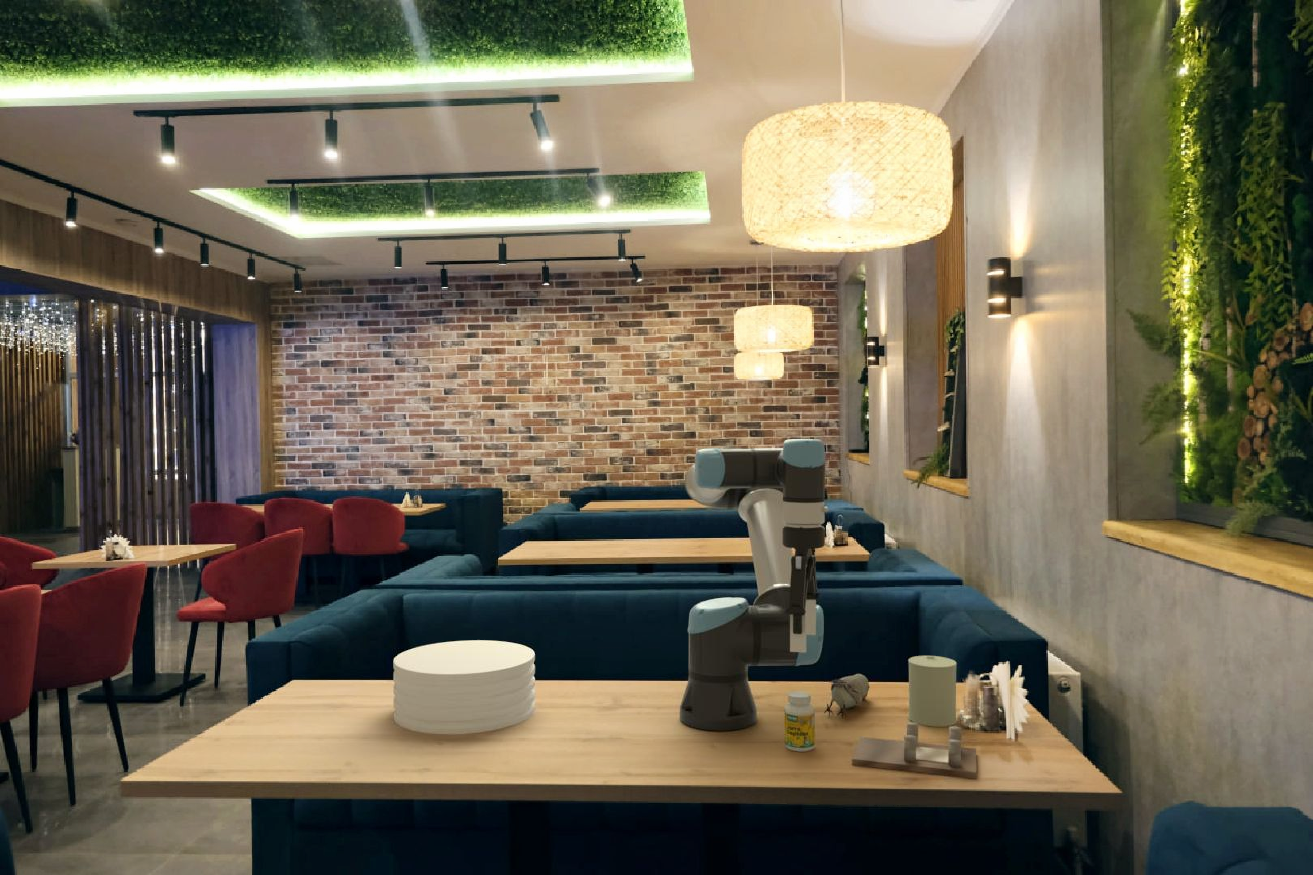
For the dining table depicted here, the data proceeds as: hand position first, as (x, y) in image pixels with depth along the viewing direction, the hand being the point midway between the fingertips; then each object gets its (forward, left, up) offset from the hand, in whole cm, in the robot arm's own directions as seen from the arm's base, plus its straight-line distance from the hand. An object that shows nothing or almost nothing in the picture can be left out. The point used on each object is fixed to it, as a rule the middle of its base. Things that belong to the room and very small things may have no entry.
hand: (803, 642), depth 169 cm
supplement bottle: (-1, -1, -19) cm, 19 cm away
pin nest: (+19, -1, -19) cm, 27 cm away
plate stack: (-69, -1, -19) cm, 71 cm away
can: (+21, +23, -19) cm, 37 cm away
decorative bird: (+5, +26, -19) cm, 33 cm away
